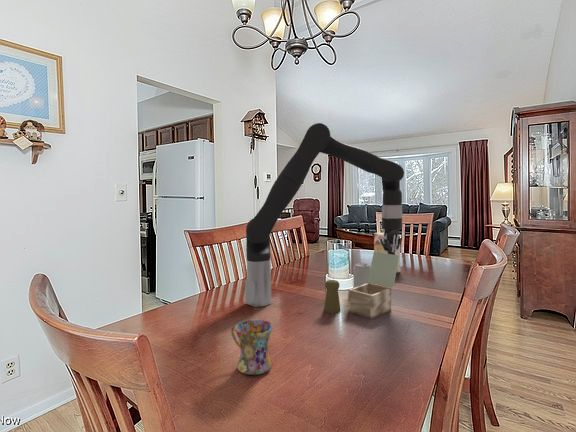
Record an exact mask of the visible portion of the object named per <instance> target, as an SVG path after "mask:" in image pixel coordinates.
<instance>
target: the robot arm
mask: <svg viewBox="0 0 576 432" xmlns="http://www.w3.org/2000/svg"><path fill="white" fill-rule="evenodd" d="M319 154H325V155H329V156H331V157H333V158H336V159H339V160H342V161H344V162H346V163H348V164H350V165H352V166H354V167H356V168H358V169H361V170H362V171H364V172H366V173H369V174H372V175H373V174H374V175H375V176H377V177H380V178H381V186H382V205H381V206H382V208H381V229H382V230H384V231H383V233H384V238H383V239H380V242H381V244H382V246H383V248H384V250H385V251H387V252H388V254H392V255H395V252H396V250H398V249H399V246H400V247H401V243H402V240H403V236H402V235H400V230H402V229H403V205H402V204H403V196H402V195H403V193H402V190H401V188H400V187H401V186H400V184H401V180H403V178H404V177H405V176H404V175H405V171H404V168H403V167H402V166H401V165H400V164H399V163H396V162H394V161H392V160H389V159H385V158H383V157H380V156H378V155H377V154H375V153H372V152H370V151H368V150H366V149H364V148H361V147H357V146H353V145H349V144H346V143H344V142H341V141H339V140H337V139H335V138H334V137H332V136H331V130H330V129H329V127H328V126H327V124H325V123H323V122H317V123H314V124H312V125H310V127H308V129H307V130H306V132H305V135H304V137H303V139H302V140H301V143H300V145H299V146H298V148H297V149H296V151H295V153H294V154H293V155H292V156H291V158H290V159H289V160H288V162H287V163H286V165H285V166H284V168H283V169H282V170H281V171H280V174H278V175H277V176H278V177H277V178H276V180H275V181H274V182H273V184H272V187H271V188H270V190H269V192H268V194H267V197H266V199H265V202H264V203H263V205H262V207H261V208H260V209H259V211H257V213H256V215H255V216H254V217H253V218H251V219H250V220H249V221H248V222H247V224H246V226H245V227H246V228H245V240H246V250H245V251H246V279H245V280H244V292H245V293H244V294H245V295H244V296H245V297H244V302H245V304H246V305H249V306H251V307H253V308H257V307H266V306H269V305H270V304H271V303H272V273H271V271H272V268H271V259H272V258H271V234H272V231H273V228H274V227H275V225H276V223H277V221H278V219H279V218H280V216H281V215H282V214H283V213H284V211H285V210H286V209H287V207H288V205H289V204H290V202H291V201H292V200H293V198H295V196H296V194H297V193H298V191H299V190H300V188H301V186H302V185H303V183H304V181H305V179H306V177H307V175H308V173H309V171H310V169H311V166H312V165H313V162H314V161H315V160H316V158H317V157H318V155H319Z"/></svg>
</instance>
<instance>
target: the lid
mask: <svg viewBox="0 0 576 432" xmlns="http://www.w3.org/2000/svg"><path fill="white" fill-rule="evenodd" d="M398 261H399V255H392V254H385V253H379V252H374V251H373V254H372V260H371V264H370V273H369V278H368V283H371V284H374V285H378V286H383V287H387V288H391V289H394V287H395V282H396V276H397V273H398V272H397V267H398Z"/></svg>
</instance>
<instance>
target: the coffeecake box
mask: <svg viewBox="0 0 576 432" xmlns="http://www.w3.org/2000/svg"><path fill="white" fill-rule="evenodd" d="M383 238H384V232H374V237H373V253H374V252H379V253H385V254H388V252H387V251H385V250H384V248H383V246H382V244H381V242H380V239H383ZM395 255H399V261H398V267H397V272H396V273H400V272H401V245H400V246H399V249H398V250H396V252H395Z"/></svg>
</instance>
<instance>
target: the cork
mask: <svg viewBox="0 0 576 432" xmlns="http://www.w3.org/2000/svg"><path fill="white" fill-rule="evenodd" d="M324 287H325V290H326V291H325V299H324V305H323V306H324V308H323V311H324V312H326V313H327V314H338V313H340V312H341V311H342V310H341V303H340V302H341V301H340V295H339V289H340V282H339V280H335V279H328V280H326V281H325V284H324Z"/></svg>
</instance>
